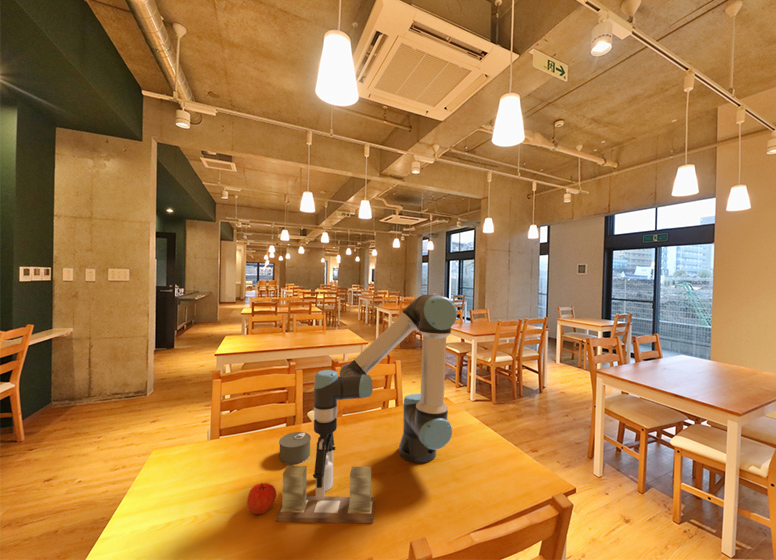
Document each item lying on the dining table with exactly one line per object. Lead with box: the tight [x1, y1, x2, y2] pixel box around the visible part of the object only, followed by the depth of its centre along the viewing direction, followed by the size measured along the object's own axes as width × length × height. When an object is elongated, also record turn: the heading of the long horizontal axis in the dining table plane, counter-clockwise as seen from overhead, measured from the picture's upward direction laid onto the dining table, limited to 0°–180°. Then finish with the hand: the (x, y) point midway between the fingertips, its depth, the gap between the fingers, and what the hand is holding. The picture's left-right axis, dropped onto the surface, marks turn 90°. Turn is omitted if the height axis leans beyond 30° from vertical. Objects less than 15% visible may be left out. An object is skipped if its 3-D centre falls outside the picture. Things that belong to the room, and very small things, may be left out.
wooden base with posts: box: [275, 465, 375, 524], centre depth 93 cm, size 28×9×12 cm, turn 89°
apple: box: [246, 482, 277, 515], centre depth 93 cm, size 8×8×8 cm
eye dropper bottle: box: [324, 454, 334, 493], centre depth 103 cm, size 4×6×12 cm
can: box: [278, 431, 312, 466], centre depth 122 cm, size 12×12×7 cm
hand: (324, 482), depth 103 cm, fingers open, 13 cm apart
